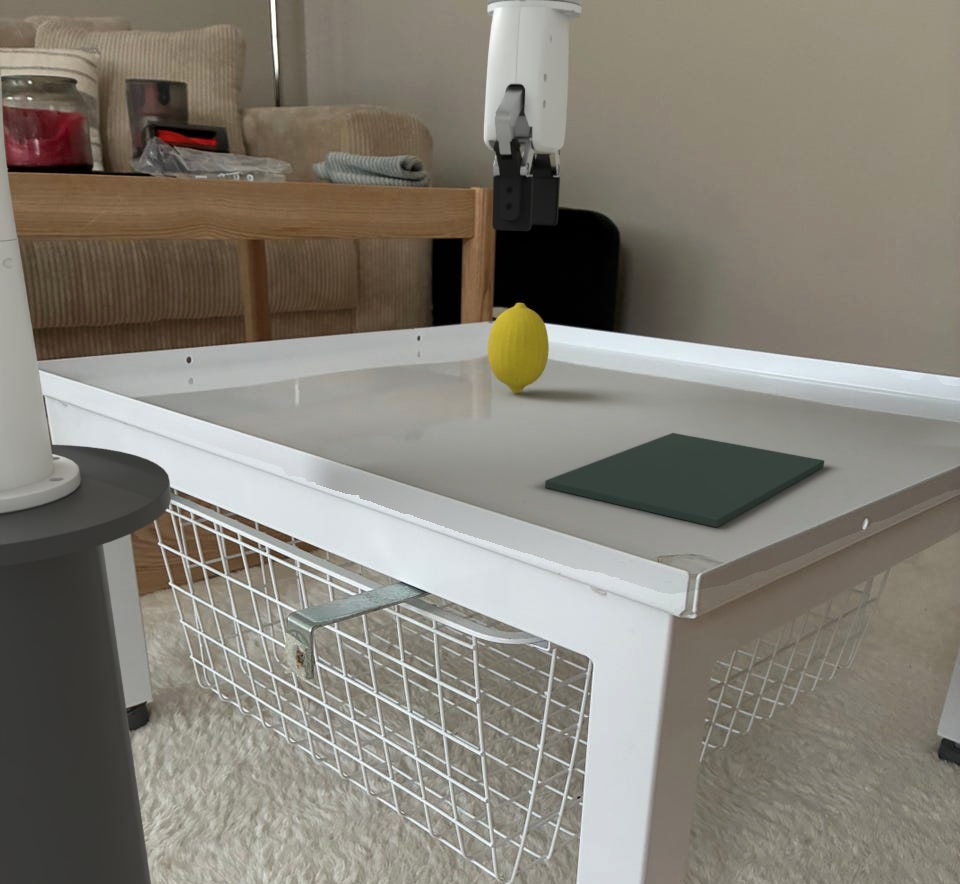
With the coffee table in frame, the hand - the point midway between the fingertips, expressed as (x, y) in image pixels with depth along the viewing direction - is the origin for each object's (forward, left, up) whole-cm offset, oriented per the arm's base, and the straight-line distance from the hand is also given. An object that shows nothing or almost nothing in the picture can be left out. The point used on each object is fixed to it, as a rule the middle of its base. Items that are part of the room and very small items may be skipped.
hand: (526, 227), depth 85 cm
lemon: (0, 0, -14) cm, 14 cm away
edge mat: (-15, -25, -14) cm, 33 cm away
